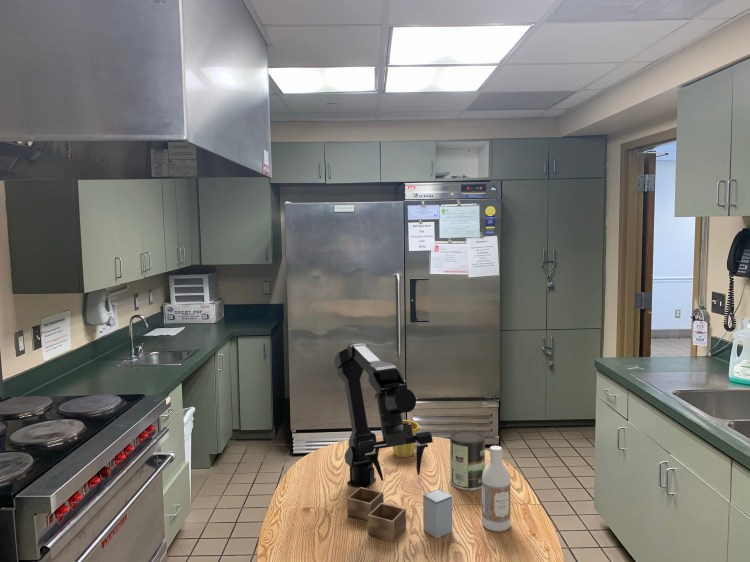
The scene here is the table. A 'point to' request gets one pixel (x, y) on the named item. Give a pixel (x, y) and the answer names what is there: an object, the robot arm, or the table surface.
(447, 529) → the pale grey square pillar
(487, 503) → the bath foam
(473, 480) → the coffee can
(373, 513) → the box
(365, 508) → the box
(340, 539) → the table surface
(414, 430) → the plant pot
